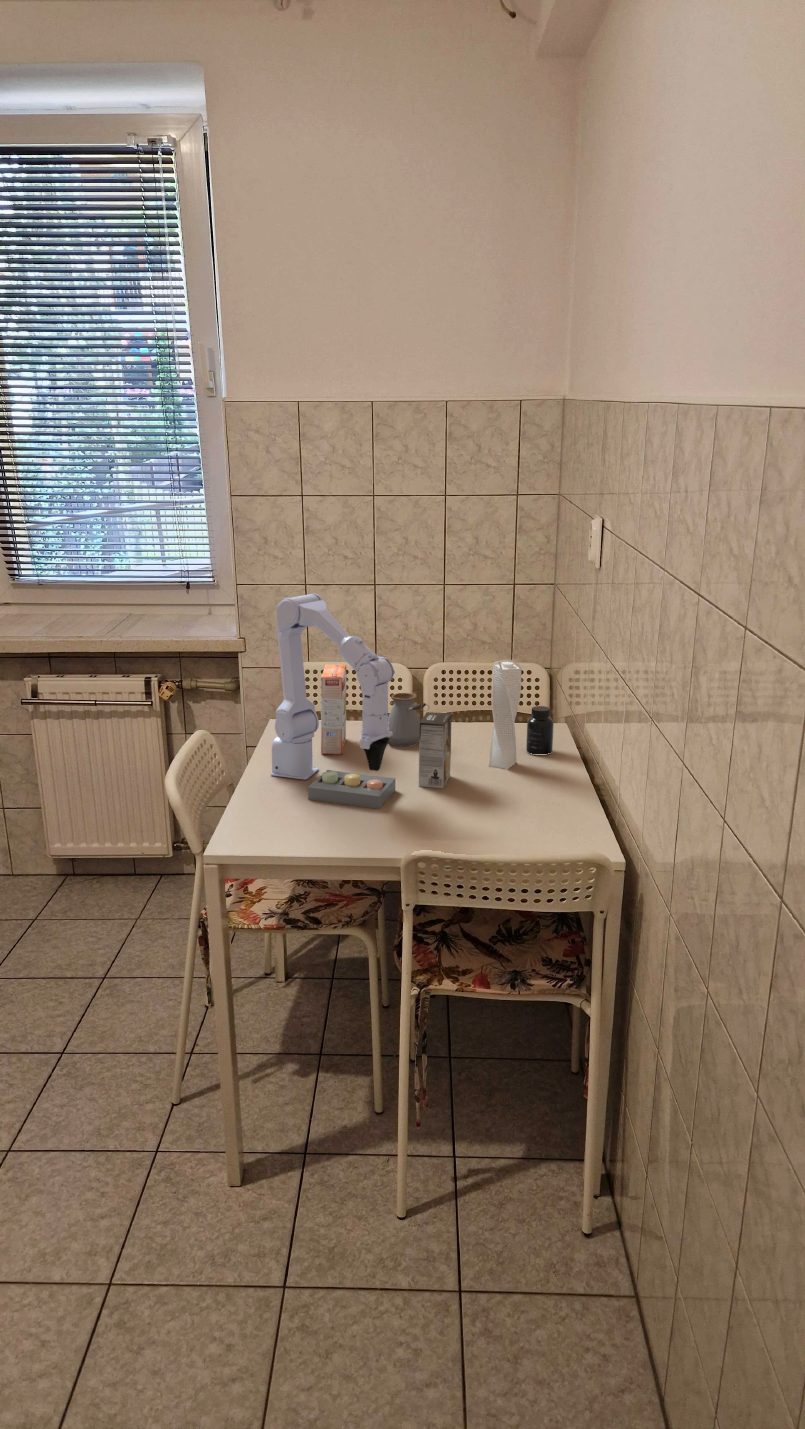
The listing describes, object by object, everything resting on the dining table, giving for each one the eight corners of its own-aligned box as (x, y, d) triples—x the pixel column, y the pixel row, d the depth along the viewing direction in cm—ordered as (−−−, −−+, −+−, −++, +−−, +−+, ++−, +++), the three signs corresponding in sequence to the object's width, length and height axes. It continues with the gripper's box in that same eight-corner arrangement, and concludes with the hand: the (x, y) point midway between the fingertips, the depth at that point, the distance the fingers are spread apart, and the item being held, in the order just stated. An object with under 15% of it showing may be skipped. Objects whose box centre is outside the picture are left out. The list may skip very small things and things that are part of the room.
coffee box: (424, 773, 245) (426, 711, 240) (450, 775, 244) (452, 712, 239) (417, 786, 236) (419, 722, 232) (444, 789, 235) (446, 724, 230)
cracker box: (343, 755, 257) (343, 677, 251) (320, 755, 257) (319, 676, 251) (347, 738, 270) (347, 663, 264) (325, 738, 270) (324, 663, 264)
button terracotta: (364, 797, 228) (364, 784, 227) (370, 792, 231) (370, 778, 230) (379, 799, 227) (379, 785, 226) (384, 794, 230) (384, 780, 229)
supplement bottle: (533, 746, 266) (536, 703, 263) (556, 751, 263) (559, 707, 259) (521, 752, 261) (523, 708, 258) (544, 758, 257) (546, 713, 254)
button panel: (308, 799, 228) (308, 787, 227) (327, 781, 239) (327, 770, 238) (378, 808, 223) (378, 796, 222) (395, 790, 234) (395, 778, 233)
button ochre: (342, 791, 229) (342, 778, 228) (347, 786, 233) (347, 773, 232) (357, 793, 228) (357, 780, 227) (362, 788, 232) (362, 774, 231)
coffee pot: (376, 737, 271) (376, 684, 267) (415, 733, 275) (416, 681, 271) (403, 762, 252) (404, 706, 248) (445, 758, 256) (446, 702, 252)
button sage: (319, 788, 231) (319, 775, 230) (325, 783, 234) (325, 770, 233) (334, 790, 230) (334, 777, 229) (340, 785, 233) (340, 772, 232)
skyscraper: (509, 772, 247) (514, 662, 239) (482, 766, 250) (486, 658, 242) (522, 763, 253) (527, 655, 245) (495, 757, 257) (500, 651, 249)
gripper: (381, 723, 215) (381, 782, 219) (401, 705, 229) (401, 761, 233) (351, 719, 217) (351, 778, 221) (372, 702, 231) (372, 758, 235)
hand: (374, 769), depth 227 cm, fingers closed
